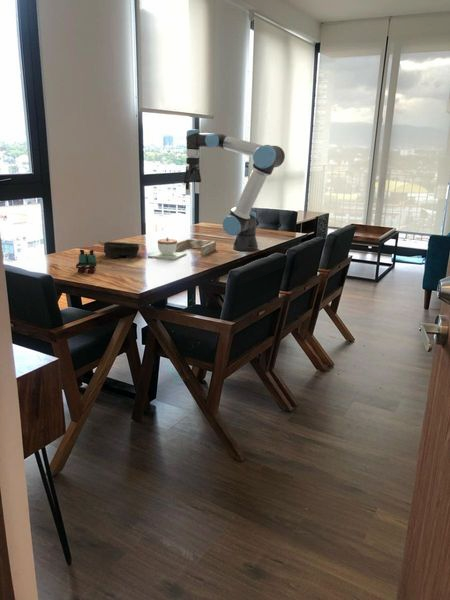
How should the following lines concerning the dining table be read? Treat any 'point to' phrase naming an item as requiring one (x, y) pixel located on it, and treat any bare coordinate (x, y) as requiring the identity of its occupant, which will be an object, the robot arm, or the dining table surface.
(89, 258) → the binoculars
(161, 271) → the dining table surface
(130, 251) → the stone bowl
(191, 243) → the cubby
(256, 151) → the robot arm
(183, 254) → the pad
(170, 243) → the lidded jar
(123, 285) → the dining table surface
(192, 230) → the dining table surface
